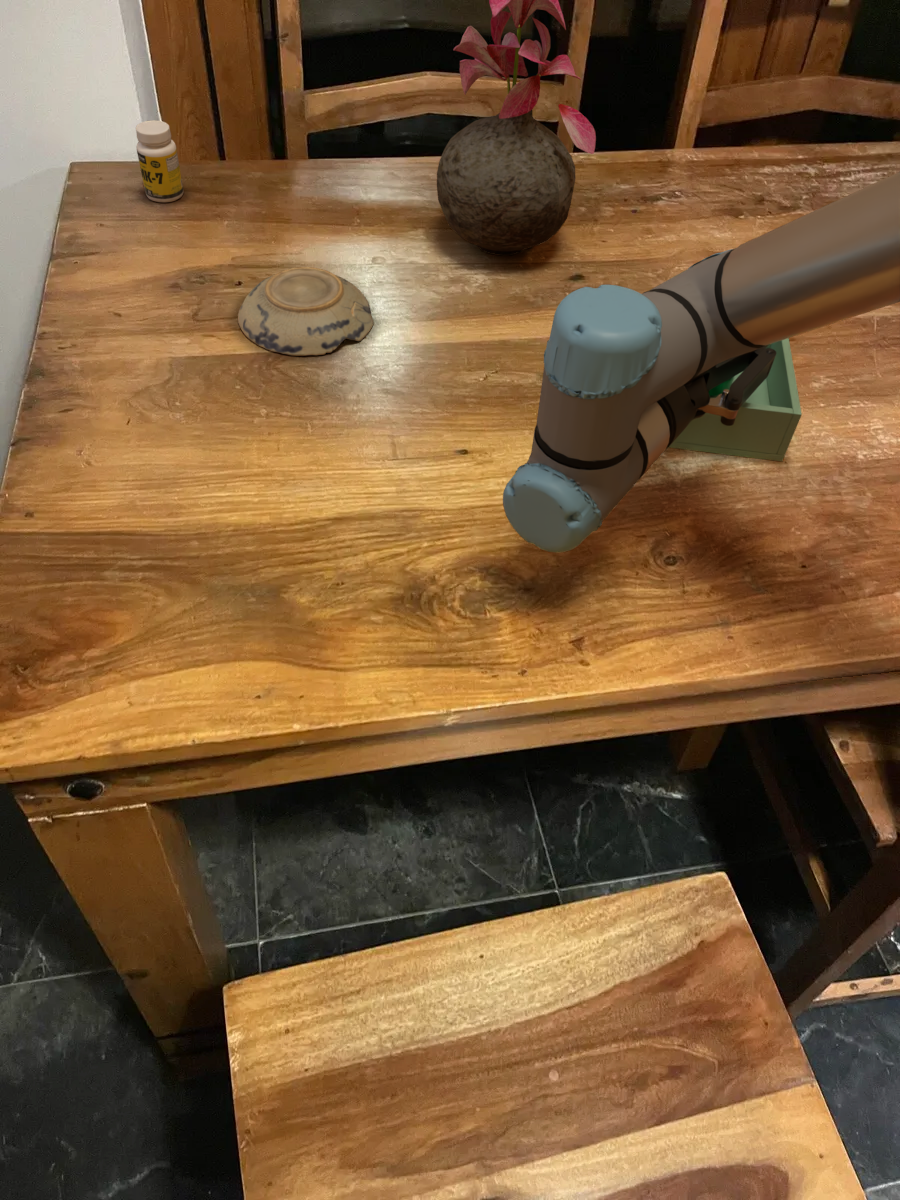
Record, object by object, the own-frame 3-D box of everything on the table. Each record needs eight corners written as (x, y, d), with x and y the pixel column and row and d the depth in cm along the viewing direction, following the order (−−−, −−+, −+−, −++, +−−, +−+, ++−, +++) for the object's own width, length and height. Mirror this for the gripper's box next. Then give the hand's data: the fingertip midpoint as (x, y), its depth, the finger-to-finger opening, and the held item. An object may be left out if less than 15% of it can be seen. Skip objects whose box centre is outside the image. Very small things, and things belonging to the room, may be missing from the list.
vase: (437, 203, 121) (447, -73, 98) (571, 212, 121) (612, -62, 98) (431, 273, 110) (441, -20, 87) (578, 282, 110) (626, -8, 87)
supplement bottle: (138, 197, 119) (123, 129, 112) (161, 182, 121) (148, 115, 115) (169, 207, 117) (156, 138, 111) (191, 191, 120) (180, 124, 114)
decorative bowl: (345, 370, 97) (393, 294, 107) (343, 340, 95) (393, 265, 104) (214, 340, 100) (273, 269, 109) (208, 310, 97) (269, 239, 106)
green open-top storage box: (769, 367, 101) (786, 320, 97) (782, 461, 91) (802, 414, 87) (625, 350, 102) (635, 302, 97) (622, 442, 92) (634, 394, 87)
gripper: (538, 413, 86) (655, 305, 99) (717, 499, 80) (818, 371, 92) (548, 344, 80) (672, 238, 93) (742, 430, 74) (846, 304, 86)
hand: (744, 305), depth 92 cm, fingers closed on soda can, 5 cm apart
